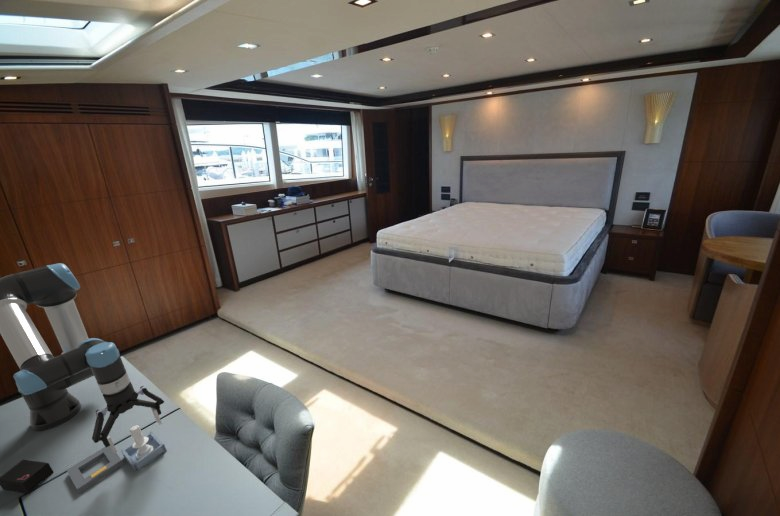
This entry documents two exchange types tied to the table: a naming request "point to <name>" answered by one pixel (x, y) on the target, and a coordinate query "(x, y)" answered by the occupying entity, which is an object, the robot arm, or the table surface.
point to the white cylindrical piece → (140, 442)
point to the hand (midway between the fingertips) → (137, 436)
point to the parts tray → (139, 463)
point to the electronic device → (25, 476)
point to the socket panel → (99, 474)
